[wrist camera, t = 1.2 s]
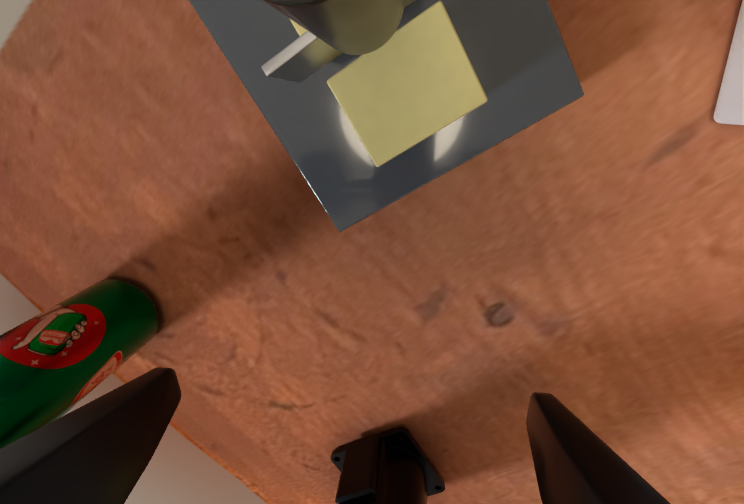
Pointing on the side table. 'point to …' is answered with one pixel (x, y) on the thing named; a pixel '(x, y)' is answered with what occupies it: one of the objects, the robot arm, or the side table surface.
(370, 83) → the butter
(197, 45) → the side table surface
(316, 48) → the knife
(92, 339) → the soda can
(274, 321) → the side table surface
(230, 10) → the butter dish
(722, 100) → the white canister
